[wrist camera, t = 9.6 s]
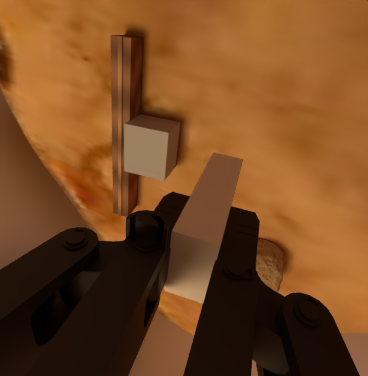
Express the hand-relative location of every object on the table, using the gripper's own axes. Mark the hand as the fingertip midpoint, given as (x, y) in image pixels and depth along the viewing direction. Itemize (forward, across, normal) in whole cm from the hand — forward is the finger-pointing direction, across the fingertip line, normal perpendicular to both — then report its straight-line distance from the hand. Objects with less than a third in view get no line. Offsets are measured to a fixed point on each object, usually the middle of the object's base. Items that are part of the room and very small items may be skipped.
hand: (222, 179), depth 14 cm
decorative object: (+30, +8, -30) cm, 43 cm away
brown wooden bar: (+29, -19, -11) cm, 37 cm away
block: (+30, -14, -11) cm, 35 cm away
